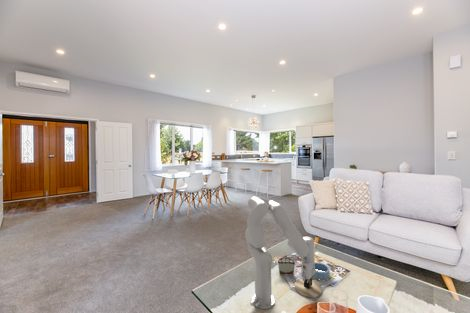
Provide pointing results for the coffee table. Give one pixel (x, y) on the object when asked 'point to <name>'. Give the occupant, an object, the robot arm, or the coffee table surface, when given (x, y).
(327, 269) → the bowl
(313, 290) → the lid
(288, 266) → the food container
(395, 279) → the coffee table surface
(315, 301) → the mat
